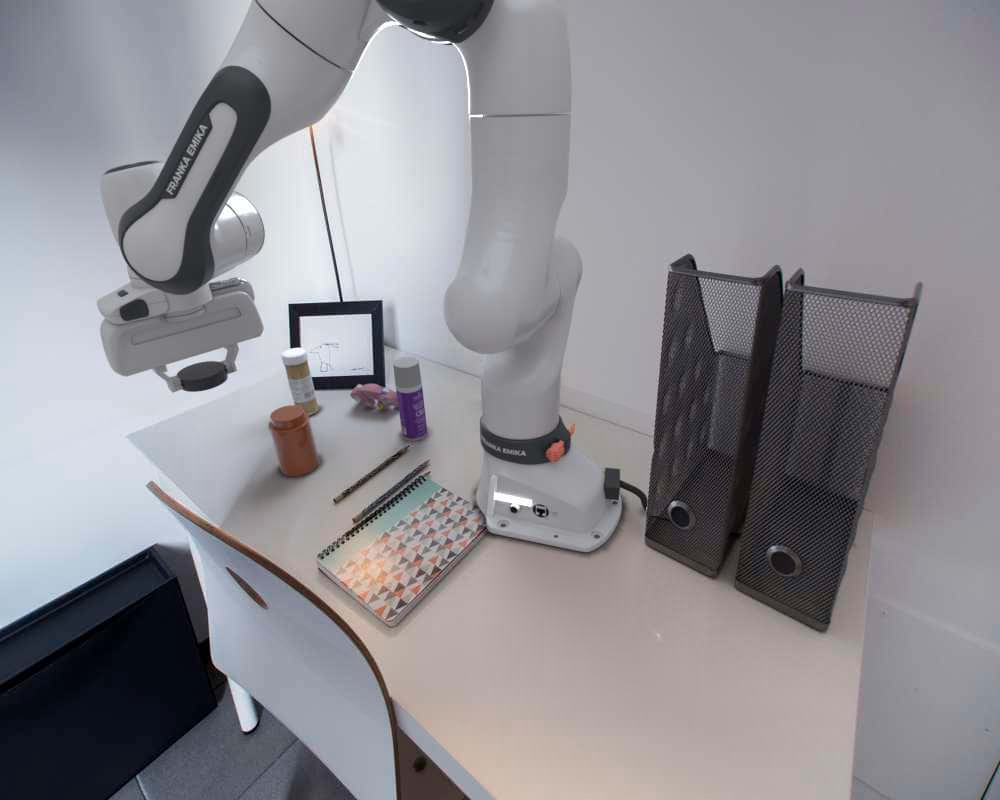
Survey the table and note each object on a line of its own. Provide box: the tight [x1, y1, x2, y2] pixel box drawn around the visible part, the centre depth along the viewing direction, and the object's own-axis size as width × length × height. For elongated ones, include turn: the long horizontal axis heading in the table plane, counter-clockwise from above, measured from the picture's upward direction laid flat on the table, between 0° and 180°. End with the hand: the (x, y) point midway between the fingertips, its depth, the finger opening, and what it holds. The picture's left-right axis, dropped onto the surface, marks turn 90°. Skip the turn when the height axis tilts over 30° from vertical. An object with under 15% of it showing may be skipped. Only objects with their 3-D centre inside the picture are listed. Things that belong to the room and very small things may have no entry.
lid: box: [176, 360, 229, 393], centre depth 79 cm, size 6×6×2 cm
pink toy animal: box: [350, 383, 398, 410], centre depth 108 cm, size 10×5×7 cm
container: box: [392, 356, 428, 442], centre depth 96 cm, size 5×5×15 cm
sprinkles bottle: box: [280, 347, 320, 417], centre depth 105 cm, size 5×5×14 cm
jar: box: [268, 404, 321, 477], centre depth 89 cm, size 6×6×11 cm
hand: (204, 380), depth 79 cm, fingers closed on lid, 6 cm apart
